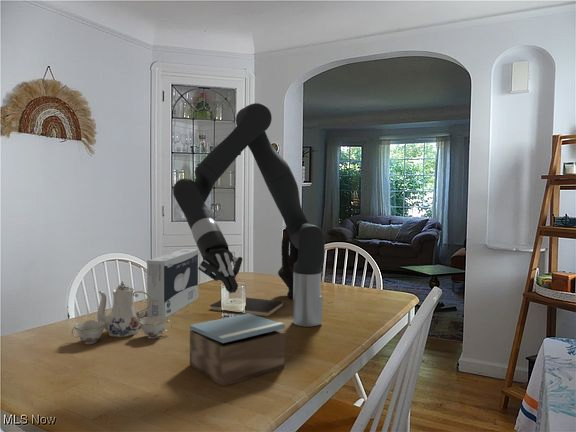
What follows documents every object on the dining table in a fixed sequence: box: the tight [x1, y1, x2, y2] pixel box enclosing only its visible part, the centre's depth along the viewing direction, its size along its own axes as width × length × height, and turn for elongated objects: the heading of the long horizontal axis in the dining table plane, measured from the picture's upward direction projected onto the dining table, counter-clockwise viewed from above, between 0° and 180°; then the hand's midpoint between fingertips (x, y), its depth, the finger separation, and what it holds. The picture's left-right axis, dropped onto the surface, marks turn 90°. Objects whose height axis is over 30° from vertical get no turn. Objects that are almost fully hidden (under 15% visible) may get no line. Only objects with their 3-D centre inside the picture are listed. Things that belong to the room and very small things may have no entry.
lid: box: [189, 313, 286, 343], centre depth 115 cm, size 16×18×1 cm
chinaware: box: [71, 280, 173, 345], centre depth 137 cm, size 28×17×17 cm, turn 113°
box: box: [189, 329, 286, 387], centre depth 115 cm, size 16×18×9 cm
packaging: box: [146, 248, 199, 318], centre depth 169 cm, size 30×6×20 cm, turn 168°
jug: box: [277, 226, 323, 299], centre depth 188 cm, size 21×18×30 cm
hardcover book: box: [209, 297, 285, 317], centre depth 171 cm, size 16×23×2 cm
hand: (234, 290), depth 115 cm, fingers closed
